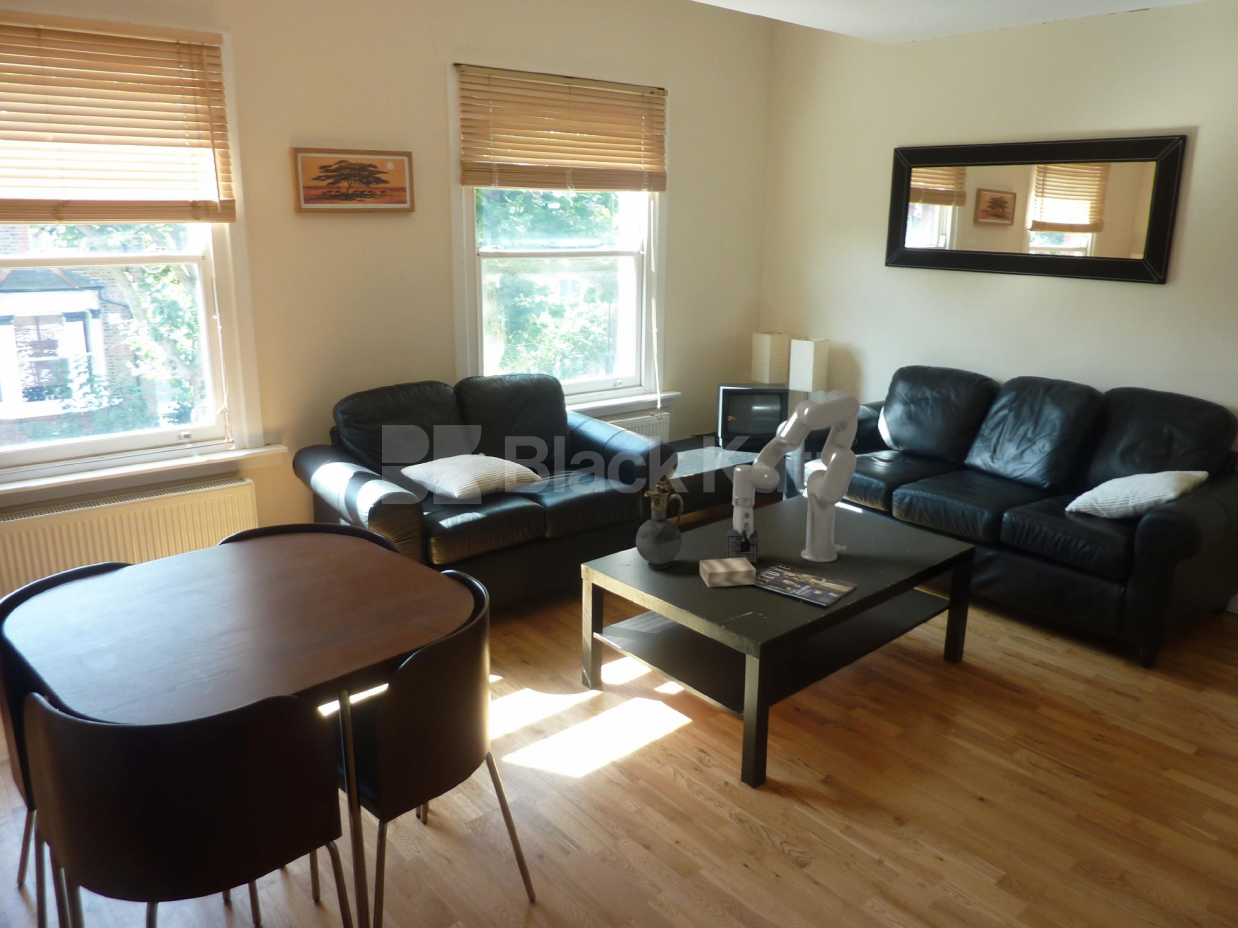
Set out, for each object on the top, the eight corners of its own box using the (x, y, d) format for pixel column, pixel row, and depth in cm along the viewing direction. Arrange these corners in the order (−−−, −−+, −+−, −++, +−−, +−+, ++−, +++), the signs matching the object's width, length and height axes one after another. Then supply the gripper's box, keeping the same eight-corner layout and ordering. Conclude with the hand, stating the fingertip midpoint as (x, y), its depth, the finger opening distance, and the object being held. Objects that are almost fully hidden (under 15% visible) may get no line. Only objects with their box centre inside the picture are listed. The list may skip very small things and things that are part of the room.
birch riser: (744, 571, 323) (745, 557, 322) (755, 583, 311) (755, 569, 310) (699, 574, 320) (699, 560, 319) (708, 587, 309) (708, 572, 308)
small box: (757, 558, 335) (757, 530, 333) (757, 564, 329) (758, 536, 326) (727, 557, 336) (727, 529, 334) (727, 563, 330) (727, 535, 327)
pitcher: (631, 566, 328) (630, 483, 320) (671, 554, 339) (672, 474, 332) (652, 575, 320) (652, 490, 312) (692, 562, 331) (693, 480, 324)
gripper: (761, 507, 319) (758, 554, 324) (746, 493, 336) (744, 538, 340) (739, 508, 318) (737, 555, 322) (726, 493, 335) (724, 539, 339)
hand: (741, 547), depth 331 cm, fingers open, 9 cm apart
